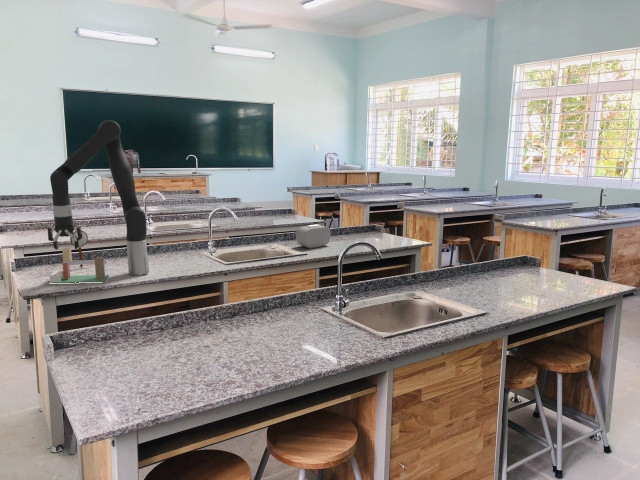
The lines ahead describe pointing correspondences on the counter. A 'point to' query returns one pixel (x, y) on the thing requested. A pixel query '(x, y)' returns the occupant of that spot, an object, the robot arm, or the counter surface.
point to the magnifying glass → (80, 243)
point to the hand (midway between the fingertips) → (66, 249)
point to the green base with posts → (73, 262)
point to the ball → (60, 274)
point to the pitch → (98, 277)
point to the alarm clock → (313, 236)
